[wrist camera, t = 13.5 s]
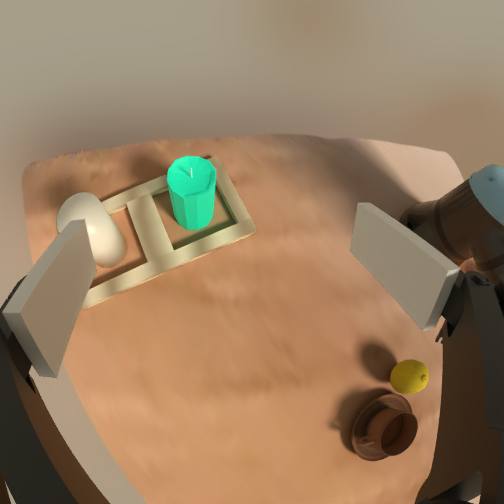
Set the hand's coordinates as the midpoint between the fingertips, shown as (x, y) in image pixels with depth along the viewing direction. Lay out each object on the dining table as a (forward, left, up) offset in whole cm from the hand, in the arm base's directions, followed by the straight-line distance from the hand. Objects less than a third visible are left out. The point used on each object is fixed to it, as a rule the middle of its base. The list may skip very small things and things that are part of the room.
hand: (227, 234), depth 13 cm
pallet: (+4, -14, -28) cm, 31 cm away
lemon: (-20, +24, -28) cm, 42 cm away
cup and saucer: (-14, +31, -28) cm, 44 cm away
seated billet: (+11, -14, -28) cm, 33 cm away
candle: (-3, -14, -28) cm, 31 cm away
